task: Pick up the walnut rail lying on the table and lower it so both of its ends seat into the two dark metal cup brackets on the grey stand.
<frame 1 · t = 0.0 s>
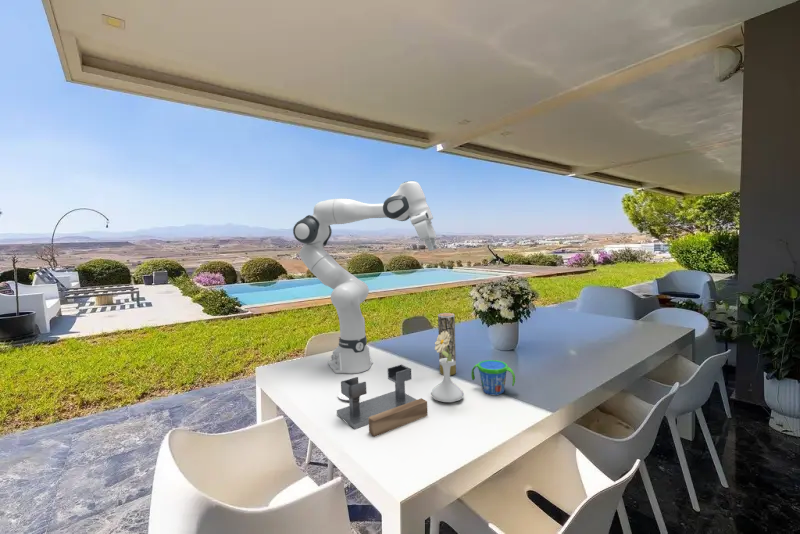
hand: (433, 249, 149), 52 cm above the table, tool tilted 20°, fingers open, 8 cm apart
grey wooden cylinder: (447, 373, 152), on the table
walnut rail: (399, 424, 112), on the table
pale veined leaf: (349, 398, 132), on the table
snack cup: (493, 392, 132), on the table
bracket stand: (378, 409, 121), on the table
flower in vase: (447, 399, 127), on the table
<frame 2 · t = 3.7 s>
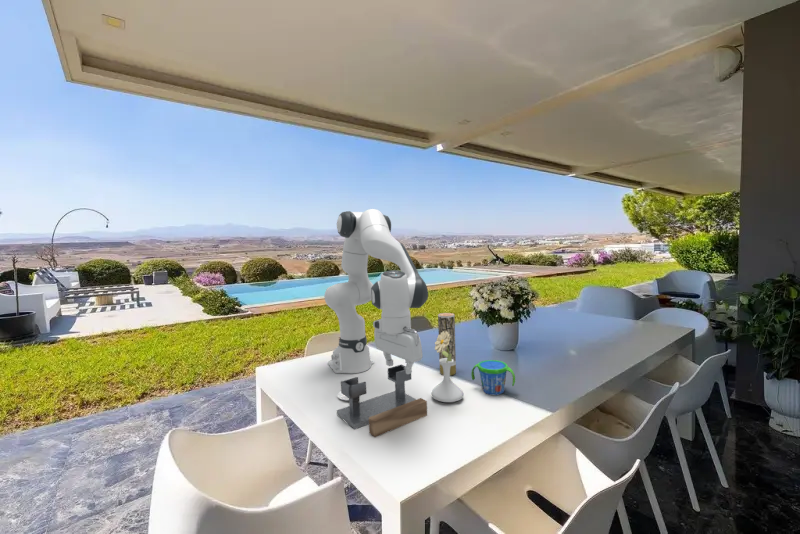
hand: (398, 369, 110), 17 cm above the table, tool pointing down, fingers open, 8 cm apart
nothing on the table moved.
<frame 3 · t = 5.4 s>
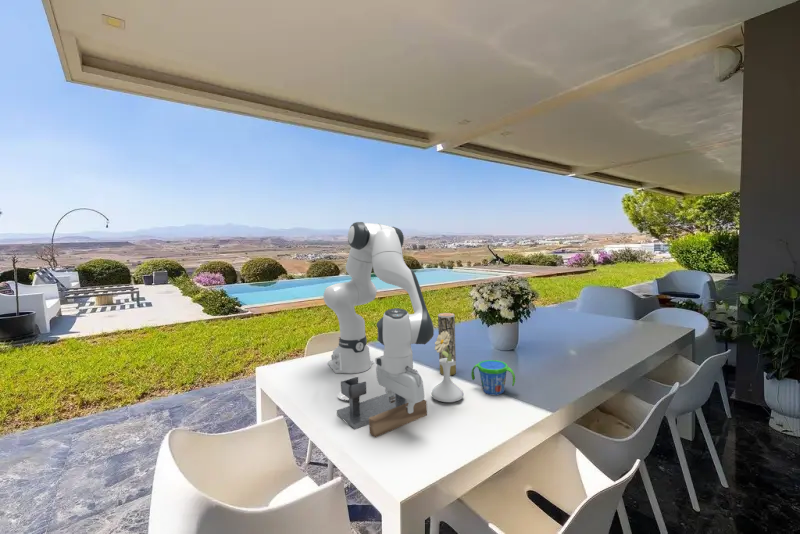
hand: (400, 407, 111), 5 cm above the table, tool pointing down, fingers open, 8 cm apart
nothing on the table moved.
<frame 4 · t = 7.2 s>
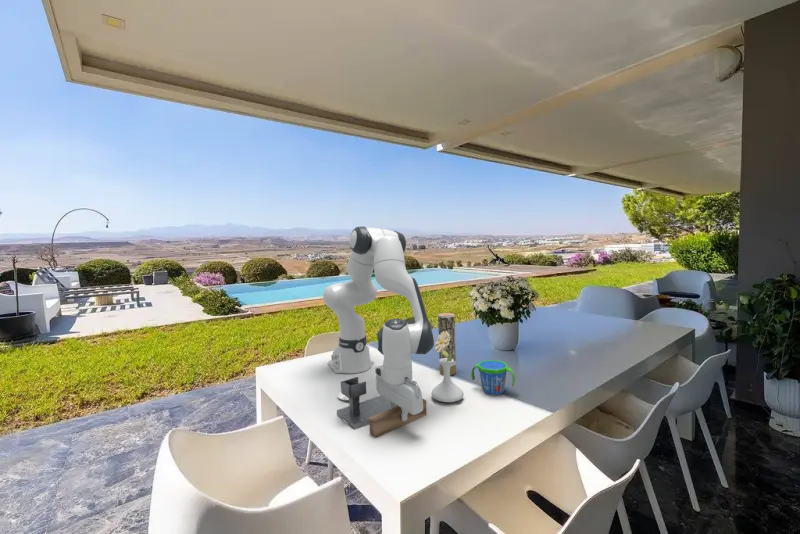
hand: (399, 417, 111), 2 cm above the table, tool pointing down, fingers closed on walnut rail, 3 cm apart
walnut rail: (399, 424, 112), on the table, touching gripper
everything else where it was.
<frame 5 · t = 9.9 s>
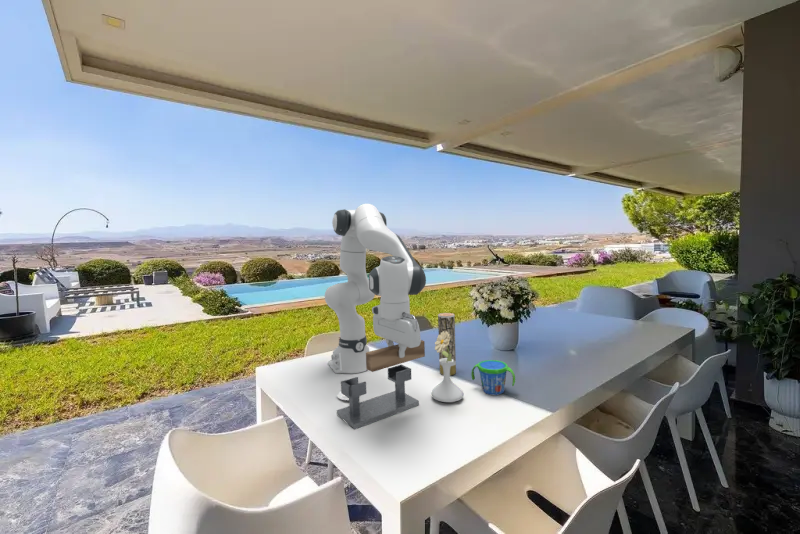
hand: (396, 355, 110), 22 cm above the table, tool pointing down, fingers closed on walnut rail, 3 cm apart
walnut rail: (396, 362, 110), point 19 cm above the table, touching gripper
everything else where it was.
when the fingers open (12 cm above the table, at t = 12.9 s): walnut rail stays where it is, resting on bracket stand.
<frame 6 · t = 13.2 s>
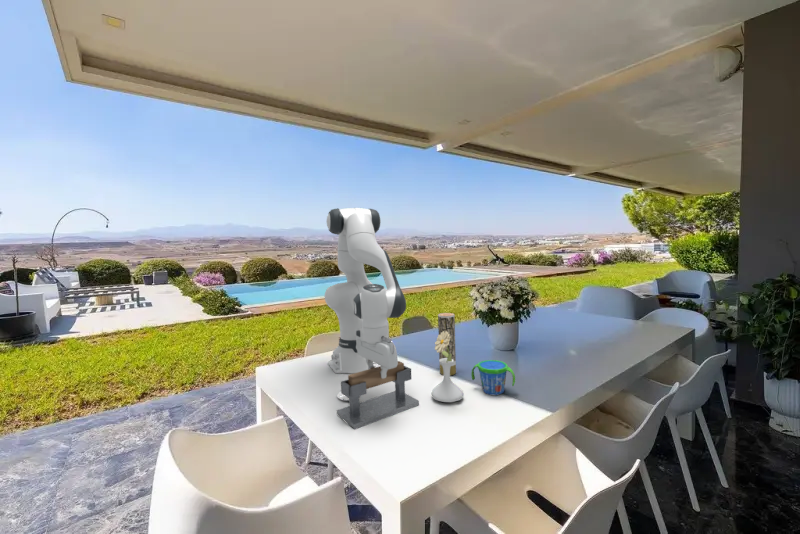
hand: (377, 374, 120), 12 cm above the table, tool pointing down, fingers open, 6 cm apart
walnut rail: (377, 383, 121), point 9 cm above the table, touching bracket stand
everything else where it was.
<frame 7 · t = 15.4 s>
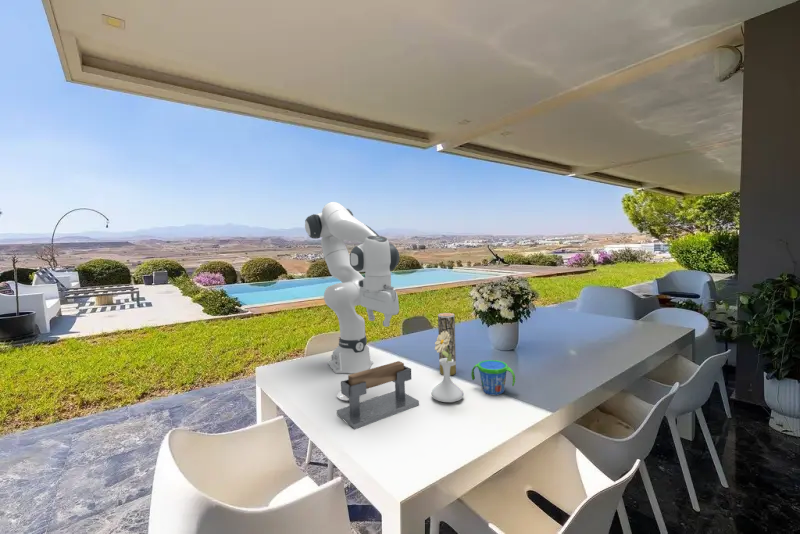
hand: (378, 323, 125), 28 cm above the table, tool pointing down, fingers open, 8 cm apart
nothing on the table moved.
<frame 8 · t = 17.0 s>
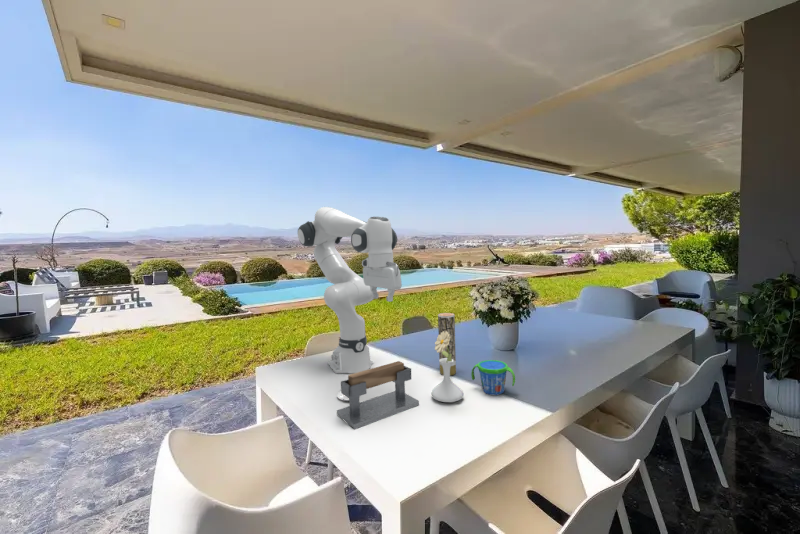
hand: (382, 299, 131), 35 cm above the table, tool pointing down, fingers open, 8 cm apart
nothing on the table moved.
at the end: walnut rail 0.1 cm off-centre on the bracket stand, point 9.0 cm above the bracket stand's base; walnut rail tilted 0°; the gripper is holding nothing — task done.
